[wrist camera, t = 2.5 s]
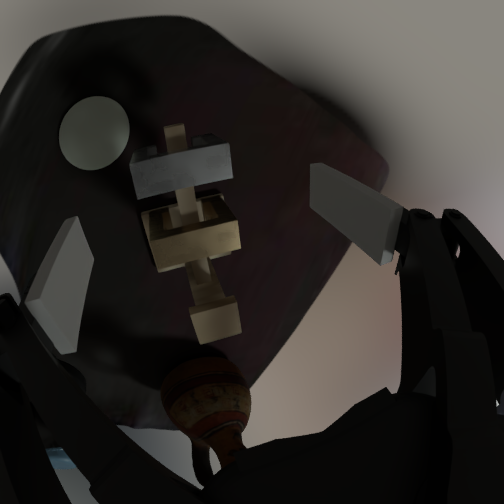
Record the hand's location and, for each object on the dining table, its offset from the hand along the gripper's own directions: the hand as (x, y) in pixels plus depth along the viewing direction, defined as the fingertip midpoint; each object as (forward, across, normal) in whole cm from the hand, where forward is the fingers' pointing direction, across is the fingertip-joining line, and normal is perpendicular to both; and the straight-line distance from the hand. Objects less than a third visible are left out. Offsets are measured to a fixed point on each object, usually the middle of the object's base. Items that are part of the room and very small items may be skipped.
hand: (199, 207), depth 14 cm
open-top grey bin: (+15, 0, 0) cm, 15 cm away
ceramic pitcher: (+24, -6, -51) cm, 57 cm away
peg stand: (+24, 0, -8) cm, 26 cm away
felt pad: (+24, -10, +4) cm, 27 cm away
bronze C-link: (+15, 0, -7) cm, 17 cm away
